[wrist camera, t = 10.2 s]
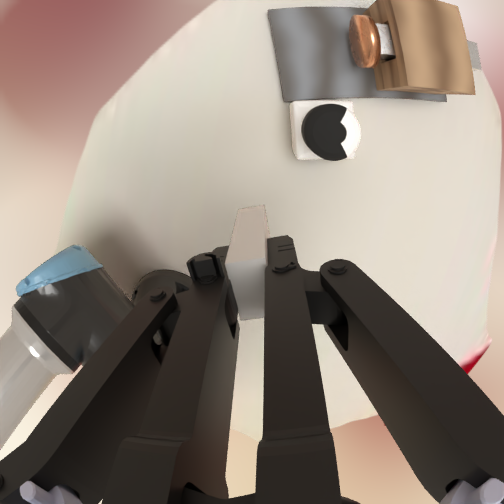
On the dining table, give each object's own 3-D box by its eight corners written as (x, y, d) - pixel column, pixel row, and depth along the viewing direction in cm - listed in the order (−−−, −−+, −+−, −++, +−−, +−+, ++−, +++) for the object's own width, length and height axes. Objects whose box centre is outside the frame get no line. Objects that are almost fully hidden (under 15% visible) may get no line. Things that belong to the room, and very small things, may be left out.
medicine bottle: (292, 152, 38) (301, 168, 28) (288, 103, 35) (296, 98, 25) (342, 151, 38) (368, 167, 27) (339, 102, 35) (366, 99, 24)
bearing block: (283, 102, 35) (288, 97, 25) (267, 13, 29) (266, -20, 19) (441, 101, 32) (486, 104, 22) (427, 20, 26) (467, 3, 16)
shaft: (354, 71, 29) (372, 63, 23) (345, 23, 26) (360, 7, 20) (461, 81, 27) (489, 80, 21) (453, 38, 24) (480, 31, 18)
